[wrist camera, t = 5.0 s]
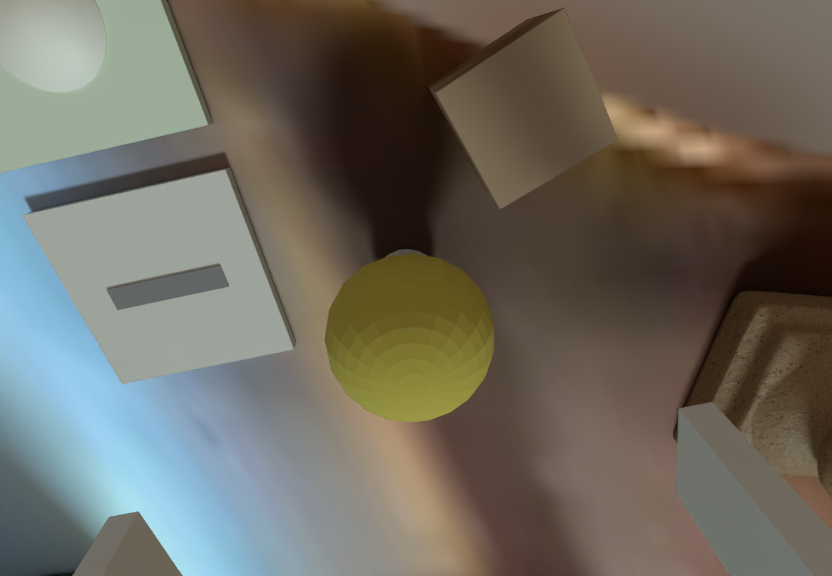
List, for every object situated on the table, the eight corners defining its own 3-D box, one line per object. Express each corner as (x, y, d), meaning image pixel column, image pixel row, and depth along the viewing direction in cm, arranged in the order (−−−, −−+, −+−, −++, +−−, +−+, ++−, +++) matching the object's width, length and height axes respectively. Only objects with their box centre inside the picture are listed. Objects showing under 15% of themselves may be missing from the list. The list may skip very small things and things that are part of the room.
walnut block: (479, 180, 23) (499, 209, 19) (426, 86, 21) (435, 93, 17) (573, 123, 22) (618, 139, 18) (526, 19, 20) (564, 7, 16)
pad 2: (127, 377, 27) (120, 385, 27) (30, 211, 23) (20, 215, 22) (295, 343, 27) (293, 350, 26) (229, 166, 22) (224, 170, 22)
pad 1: (7, 170, 22) (-5, 174, 21) (-146, -93, 18) (-166, -98, 17) (212, 123, 22) (207, 125, 21) (106, -160, 17) (95, -169, 17)
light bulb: (426, 181, 23) (446, 258, 14) (492, 285, 26) (545, 407, 17) (316, 253, 24) (270, 365, 15) (389, 345, 27) (386, 487, 18)
